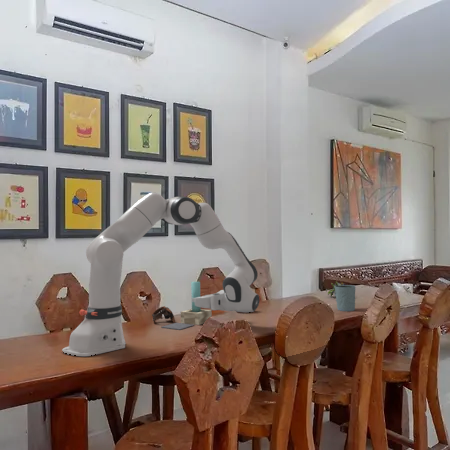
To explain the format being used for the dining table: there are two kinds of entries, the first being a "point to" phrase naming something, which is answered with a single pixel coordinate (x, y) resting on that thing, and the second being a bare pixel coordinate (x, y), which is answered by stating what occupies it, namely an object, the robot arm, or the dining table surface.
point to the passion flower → (334, 288)
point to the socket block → (195, 316)
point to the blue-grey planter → (345, 297)
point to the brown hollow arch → (165, 312)
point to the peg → (195, 295)
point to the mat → (177, 326)
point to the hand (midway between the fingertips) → (199, 298)
